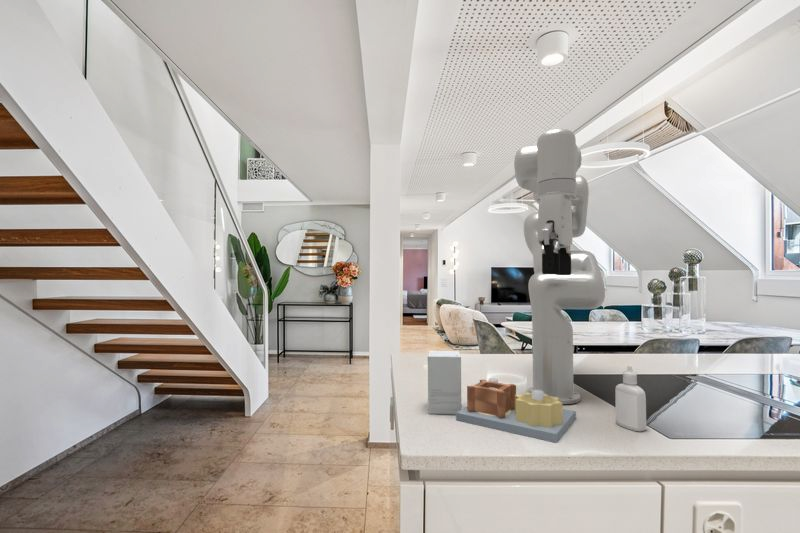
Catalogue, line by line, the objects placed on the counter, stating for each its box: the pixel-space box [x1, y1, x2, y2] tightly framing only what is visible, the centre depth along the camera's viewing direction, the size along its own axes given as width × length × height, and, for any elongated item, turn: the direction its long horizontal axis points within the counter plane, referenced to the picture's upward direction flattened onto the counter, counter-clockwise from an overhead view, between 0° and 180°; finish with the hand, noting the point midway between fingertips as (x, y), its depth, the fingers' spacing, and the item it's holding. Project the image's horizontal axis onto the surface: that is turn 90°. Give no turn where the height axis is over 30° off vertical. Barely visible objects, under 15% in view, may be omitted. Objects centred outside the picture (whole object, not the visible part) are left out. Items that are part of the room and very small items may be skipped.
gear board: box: [455, 377, 577, 443], centre depth 84 cm, size 16×20×7 cm
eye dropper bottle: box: [614, 365, 647, 432], centre depth 80 cm, size 4×6×12 cm
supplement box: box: [427, 350, 462, 415], centre depth 90 cm, size 7×7×13 cm
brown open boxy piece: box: [466, 379, 517, 418], centre depth 85 cm, size 8×8×5 cm
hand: (557, 274), depth 82 cm, fingers open, 9 cm apart
